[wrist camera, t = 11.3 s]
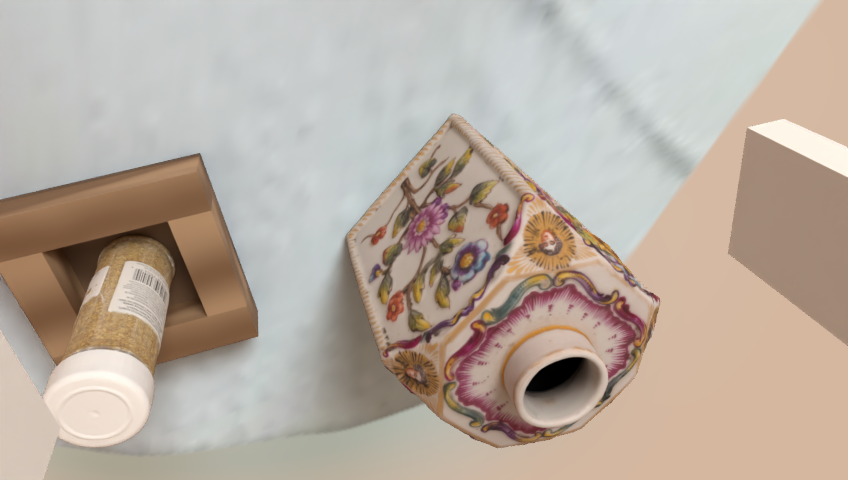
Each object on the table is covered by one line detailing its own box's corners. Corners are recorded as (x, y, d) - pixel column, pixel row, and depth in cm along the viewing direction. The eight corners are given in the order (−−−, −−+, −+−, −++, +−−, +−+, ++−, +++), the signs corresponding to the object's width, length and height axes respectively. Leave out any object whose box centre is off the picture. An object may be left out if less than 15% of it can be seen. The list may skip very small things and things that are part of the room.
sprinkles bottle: (83, 248, 38) (14, 399, 27) (155, 222, 39) (117, 360, 27) (123, 305, 41) (74, 465, 29) (190, 279, 41) (168, 428, 30)
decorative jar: (456, 315, 49) (552, 510, 33) (338, 238, 43) (388, 429, 28) (566, 202, 46) (724, 356, 31) (456, 104, 40) (583, 232, 25)
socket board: (-9, 202, 36) (-29, 225, 34) (199, 153, 38) (196, 172, 35) (80, 358, 42) (70, 388, 40) (257, 310, 44) (258, 336, 41)
